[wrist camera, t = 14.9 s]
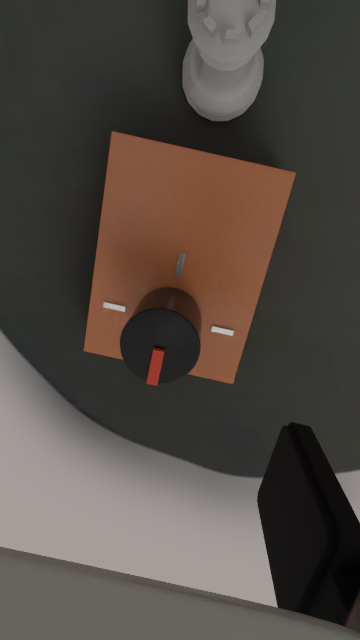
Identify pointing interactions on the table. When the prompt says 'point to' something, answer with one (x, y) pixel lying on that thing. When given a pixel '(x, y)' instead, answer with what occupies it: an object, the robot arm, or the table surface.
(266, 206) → the knob base block
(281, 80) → the table surface
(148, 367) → the stove knob
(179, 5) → the table surface
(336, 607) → the robot arm
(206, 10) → the rook chess piece
